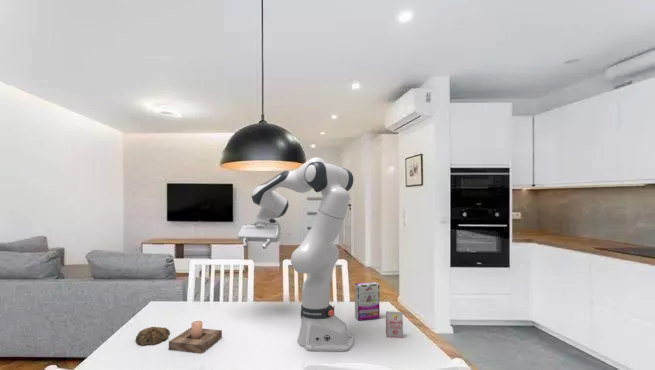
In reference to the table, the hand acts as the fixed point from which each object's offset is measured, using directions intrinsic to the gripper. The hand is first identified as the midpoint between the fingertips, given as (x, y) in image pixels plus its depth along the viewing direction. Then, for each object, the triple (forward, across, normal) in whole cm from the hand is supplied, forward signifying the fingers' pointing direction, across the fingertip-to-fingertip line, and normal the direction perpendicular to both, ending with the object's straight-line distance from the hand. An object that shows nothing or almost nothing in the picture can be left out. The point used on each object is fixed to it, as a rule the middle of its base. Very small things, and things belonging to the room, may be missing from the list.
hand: (254, 247), depth 154 cm
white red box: (+24, +63, +25) cm, 72 cm away
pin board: (+42, -13, +7) cm, 44 cm away
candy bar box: (+11, +50, +38) cm, 64 cm away
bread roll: (+42, -32, +7) cm, 54 cm away
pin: (+42, -13, +7) cm, 44 cm away
